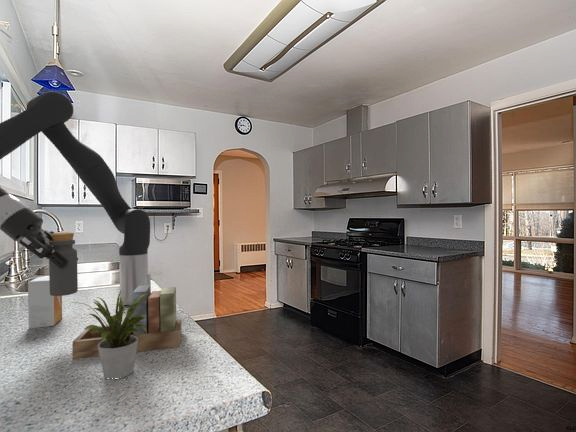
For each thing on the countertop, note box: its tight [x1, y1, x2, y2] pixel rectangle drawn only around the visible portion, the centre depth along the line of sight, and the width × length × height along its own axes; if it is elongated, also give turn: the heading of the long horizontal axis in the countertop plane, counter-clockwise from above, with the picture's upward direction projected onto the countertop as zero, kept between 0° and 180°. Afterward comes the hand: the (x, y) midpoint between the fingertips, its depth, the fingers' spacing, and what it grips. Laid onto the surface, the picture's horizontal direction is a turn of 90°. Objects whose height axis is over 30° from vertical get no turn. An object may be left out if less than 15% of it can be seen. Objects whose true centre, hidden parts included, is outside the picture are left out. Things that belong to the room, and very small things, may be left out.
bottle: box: [48, 232, 79, 297], centre depth 84 cm, size 6×6×15 cm
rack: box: [71, 285, 182, 359], centre depth 81 cm, size 22×10×13 cm, turn 105°
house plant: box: [72, 290, 149, 379], centre depth 65 cm, size 14×14×16 cm
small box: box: [27, 276, 63, 329], centre depth 98 cm, size 8×6×13 cm
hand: (70, 263), depth 84 cm, fingers closed on bottle, 6 cm apart
